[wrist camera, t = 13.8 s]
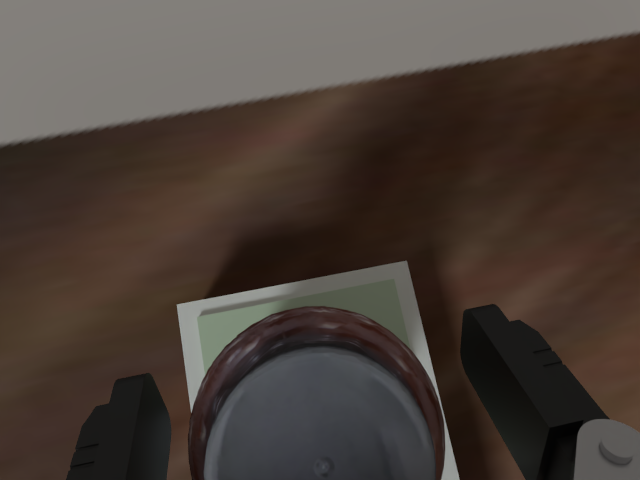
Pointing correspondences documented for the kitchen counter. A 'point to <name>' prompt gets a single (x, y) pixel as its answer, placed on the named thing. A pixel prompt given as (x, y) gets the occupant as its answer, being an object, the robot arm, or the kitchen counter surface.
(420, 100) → the kitchen counter surface
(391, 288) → the board
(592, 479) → the robot arm
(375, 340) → the supplement bottle
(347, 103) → the kitchen counter surface
